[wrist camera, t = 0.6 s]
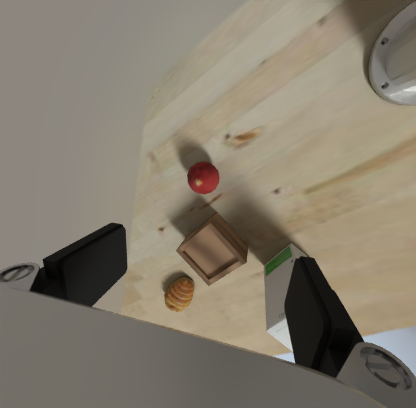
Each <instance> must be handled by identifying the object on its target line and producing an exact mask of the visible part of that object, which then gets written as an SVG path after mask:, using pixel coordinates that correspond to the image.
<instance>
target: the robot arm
mask: <svg viewBox="0 0 416 408" xmlns="http://www.w3.org/2000/svg"><path fill="white" fill-rule="evenodd" d="M381 42H382V43H383V45H382V44H381ZM368 72H369V79H370V82H371V85H372V87H373V89H374V90H375V91H376V93H377V94H378V95H379V96H380V97H382V98H383V99H384V100H386V101H388V102H390V103H394V104H398V105H415V104H416V1H415V2H413V3H411V4H410V5H408V6H407V7H406V8H405V9H403V10H402V11H401V12H400V13H399V14H397V15H396V16H395V17H394V18H393V19H392V20H391V21H390V22H389V24H388V25H387V26H386V27H385V28H384V29H383V31H382V32H381V34H380V35H379V37H378V39H377V40H376V42H375V44H374V47H373V49H372V51H371V55H370V59H369V67H368ZM381 86H383V89H382V88H381ZM43 263H44V267H42V268H41V269H40V267H39V265H38V264H36V263H21V264H17V265H13V266H10V267H7V268H5V269H3V270H1V271H0V408H416V377H415V376H414V374H413V373H412V372H411V370H410V369H409V368H408V367H407V366H406V365H405V364H404V363H403V362H402V361H401V360H400V359H399V358H397V357H396V356H395V355H393V354H392V353H391V352H389V351H387V350H385V349H384V348H382V347H380V346H377V345H375V344H372V343H368V342H364V340H363V338H362V337H361V335H360V333H359V332H358V330H357V328H356V326H355V325H354V323H353V321H352V320H351V318H350V316H349V314H348V313H347V311H346V309H345V308H344V306H343V304H342V303H341V301H340V299H339V297H338V296H337V294H336V293H335V291H334V290H332V289H331V287H330V285H329V284H328V282H327V280H326V278H325V277H324V275H323V273H322V271H321V270H320V268H319V266H318V264H317V263H316V261H315V259H314V258H310V257H304V256H300V258H296V259H295V262H294V266H293V270H292V274H291V278H290V282H289V286H288V290H287V294H286V298H285V302H284V310H285V315H286V320H287V325H288V330H289V335H290V339H291V344H292V349H293V354H294V358H295V363H292V362H289V361H286V360H282V359H279V358H276V357H273V356H269V355H265V354H262V353H258V352H255V351H251V350H248V349H245V348H241V347H238V346H234V345H230V344H227V343H223V342H219V341H216V340H212V339H209V338H205V337H201V336H198V335H194V334H191V333H187V332H183V331H180V330H176V329H172V328H169V327H165V326H161V325H158V324H154V323H150V322H147V321H143V320H139V319H135V318H132V317H128V316H124V315H121V314H117V313H113V312H109V311H105V310H102V309H98V308H94V307H92V306H93V305H94V304H95V303H96V302H97V301H98V300H99V299H100V298H101V297H102V296H103V295H104V294H105V293H106V292H107V291H108V290H109V289H110V288H111V287H112V286H113V285H114V284H115V283H116V282H117V281H118V280H119V279H120V278H121V277H122V276H123V275H124V274H125V273H126V271H127V250H126V230H125V228H124V227H123V225H122V224H117V223H110V224H108V225H106V226H104V227H102V228H101V229H99V230H97V231H95V232H93V233H91V234H89V235H88V236H86V237H84V238H82V239H80V240H78V241H76V242H74V243H72V244H70V245H69V246H67V247H65V248H63V249H61V250H59V251H57V252H55V253H54V254H52V255H50V256H48V257H46V258H44V259H43Z"/></svg>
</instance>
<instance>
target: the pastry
mask: <svg viewBox="0 0 416 408" xmlns="http://www.w3.org/2000/svg"><path fill="white" fill-rule="evenodd" d="M193 292H194V282H193V281H192V280H191V279H189V278H186V277H182V278H179V279H178V280H176V281H175V282H173V283H172V284H171V285H170V286H169V288H168V290H167V292H166V293H165V295H164V297H165V304H166V306H167V307H168V308H169V309H170V310H172V311H176V312H180V311H182V310H184V309H185V308H186V307H187V306H188V305H189V304H190V302H191V300H192V297H193Z"/></svg>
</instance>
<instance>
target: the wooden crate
mask: <svg viewBox="0 0 416 408" xmlns="http://www.w3.org/2000/svg"><path fill="white" fill-rule="evenodd" d="M176 251H177V252H178V253H179V255H180V256H181V257H182V258H183V259H184V260H185V261H186V262H187V263H188V264H189V265H190V266H191V267H192V268H193V270H194V271H195V272H196V273H197V274H198V275H199V276H200V277H201V278H202V279H203V280H204V281H205V282H206V283H207V284H208V286H209V285H211V284H213V283H214V282H216V281H217V280H219V279H221V278H222V277H224V276H225V275H227V274H229V273H230V272H232V271H233V270H235V269H237V268H238V267H240V266H241V265H243V264H245V263H246V262H247V253H248V246H247V245H246V244H245V243H244V242H243V240H242V239H241V238H240V237H239V236H238V235H237V234H236V233H235V232H234V230H233V229H232V228H231V227H230V226H229V225H228V224H227V223H226V222H225V220H224V219H223V218H222V217H221V216H220V215H219V214H218V213H216V214H214V215H213V216H212V217H211V218H209V219H208V220H207V221H206V222H205V223H203V224H202V225H201V226H200V227H198V228H197V229H196V230H195V231H193V232H192V233H191V234H190V235H189V236H187V237H186V238H185V240H184V241H183V242H182V243H181V245H180V246H179V247H178V249H177V250H176Z"/></svg>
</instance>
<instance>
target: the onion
mask: <svg viewBox="0 0 416 408" xmlns="http://www.w3.org/2000/svg"><path fill="white" fill-rule="evenodd" d="M187 177H188V183H189V186H190V187H191V188H192V190H193V191H195V192H197V193H200V194H207V193H210V192H212V191H213V190H214V189H216V187H217V185H218V183H219V173H218V170H217V169H216V168H215V166H214V165H212V164H210V163H207V162H199V163H196V164H195V165H193V166H192V167H191V168H190V170H189V172H188V175H187Z"/></svg>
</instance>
